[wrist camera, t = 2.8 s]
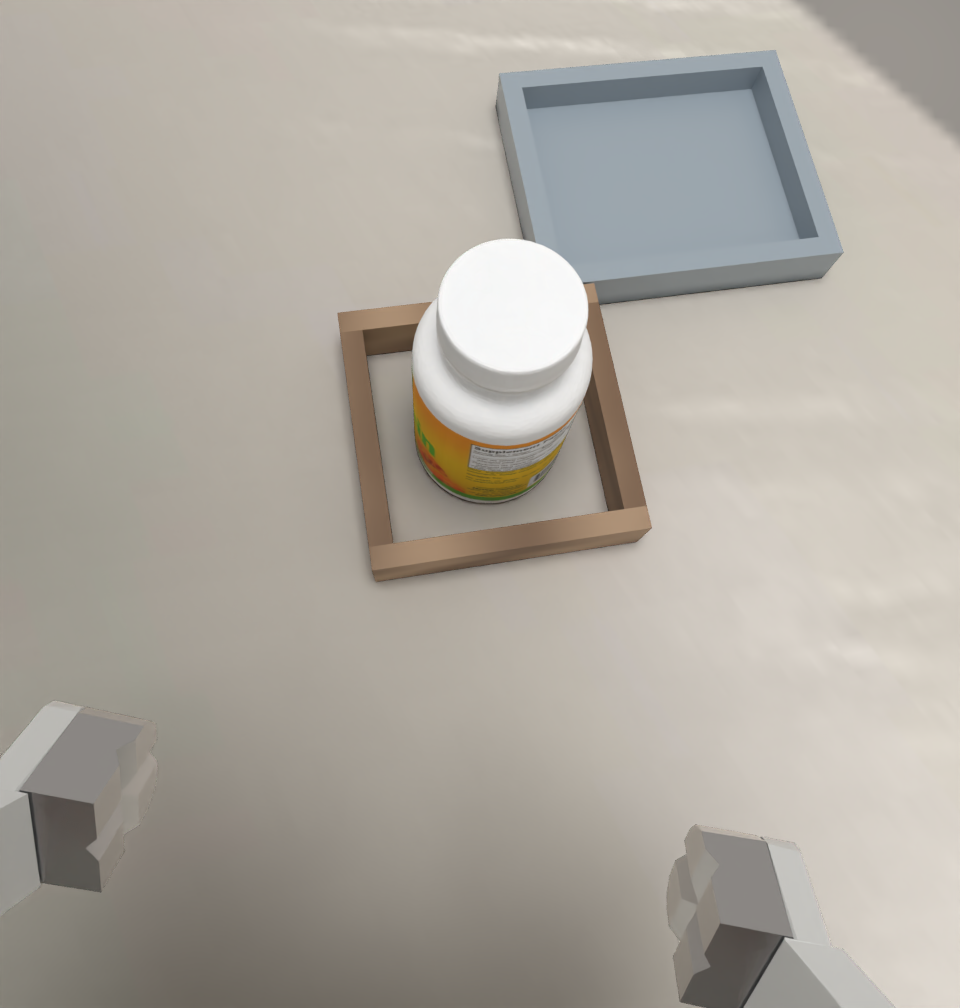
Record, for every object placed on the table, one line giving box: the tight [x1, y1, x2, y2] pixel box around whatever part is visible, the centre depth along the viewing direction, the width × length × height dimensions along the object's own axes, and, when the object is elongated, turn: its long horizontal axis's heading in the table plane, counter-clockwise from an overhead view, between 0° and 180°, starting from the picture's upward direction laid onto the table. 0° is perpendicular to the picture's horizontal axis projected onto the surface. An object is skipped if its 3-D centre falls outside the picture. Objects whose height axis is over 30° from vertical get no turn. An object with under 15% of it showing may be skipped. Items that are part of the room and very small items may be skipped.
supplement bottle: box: [412, 239, 593, 503], centre depth 25 cm, size 5×5×10 cm
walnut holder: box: [338, 283, 652, 582], centre depth 29 cm, size 10×10×2 cm
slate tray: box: [496, 50, 844, 304], centre depth 32 cm, size 12×10×2 cm
